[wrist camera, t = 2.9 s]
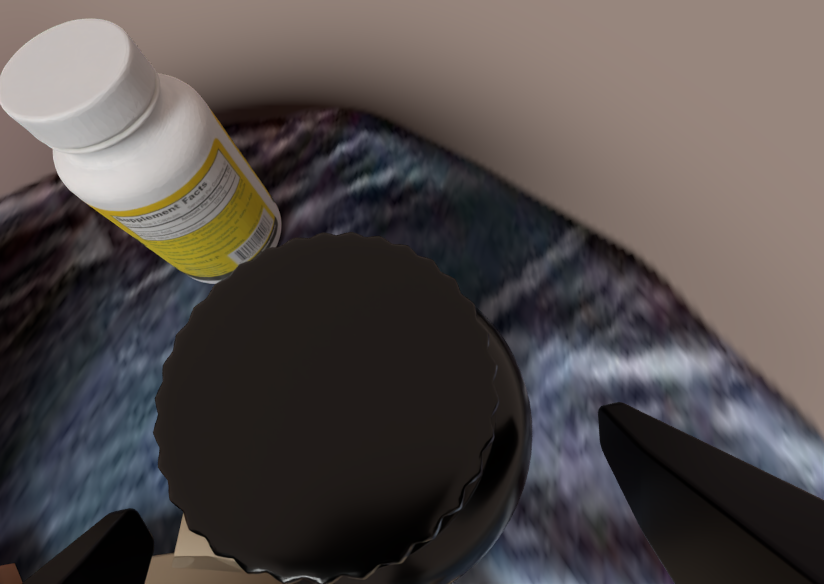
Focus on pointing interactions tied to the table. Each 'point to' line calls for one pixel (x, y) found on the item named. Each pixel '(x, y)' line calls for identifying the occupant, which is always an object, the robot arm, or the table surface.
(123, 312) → the table surface
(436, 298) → the supplement bottle
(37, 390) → the table surface
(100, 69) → the supplement bottle
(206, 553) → the sprocket wheel
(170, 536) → the table surface
